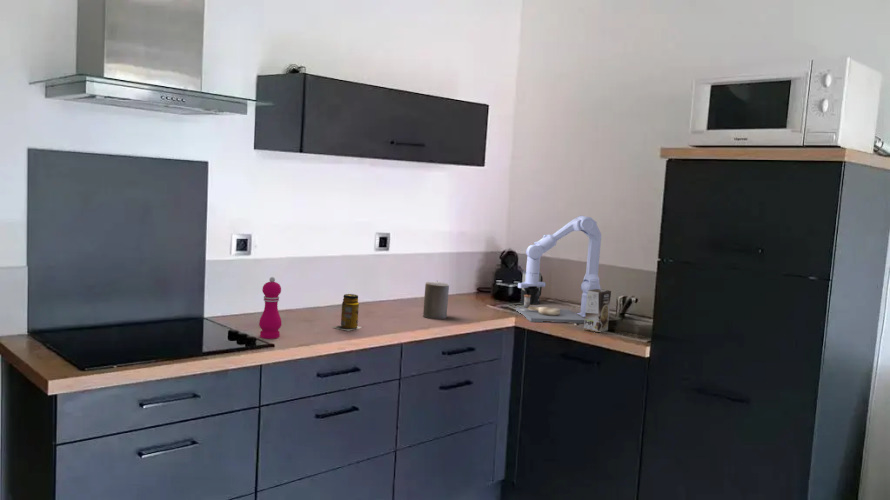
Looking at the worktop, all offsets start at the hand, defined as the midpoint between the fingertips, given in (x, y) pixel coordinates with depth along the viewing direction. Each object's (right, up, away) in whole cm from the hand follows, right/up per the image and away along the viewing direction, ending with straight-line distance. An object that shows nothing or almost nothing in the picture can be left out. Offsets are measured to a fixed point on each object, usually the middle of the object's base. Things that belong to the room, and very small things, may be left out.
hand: (530, 303), depth 315 cm
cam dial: (+4, -3, -5) cm, 7 cm away
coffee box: (+23, -9, -27) cm, 37 cm away
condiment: (-72, -5, -52) cm, 89 cm away
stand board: (+8, -5, -5) cm, 11 cm away
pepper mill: (-95, -6, -74) cm, 121 cm away
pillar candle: (-41, -4, -21) cm, 46 cm away
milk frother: (+1, -2, +33) cm, 33 cm away
